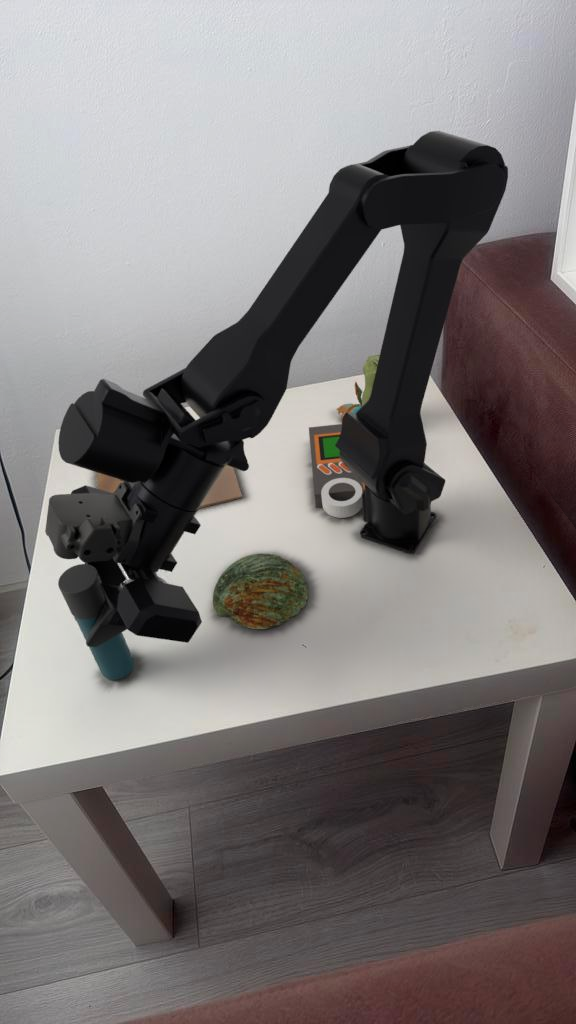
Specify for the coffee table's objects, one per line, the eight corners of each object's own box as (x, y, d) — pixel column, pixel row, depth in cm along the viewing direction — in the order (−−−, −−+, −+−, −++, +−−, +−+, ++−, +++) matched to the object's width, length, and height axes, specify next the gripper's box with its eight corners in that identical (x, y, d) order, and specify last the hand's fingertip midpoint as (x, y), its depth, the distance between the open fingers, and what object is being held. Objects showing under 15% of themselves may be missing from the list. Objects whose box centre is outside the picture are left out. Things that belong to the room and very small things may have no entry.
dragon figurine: (397, 438, 91) (388, 384, 94) (343, 432, 89) (335, 377, 92) (375, 463, 97) (367, 412, 100) (323, 458, 94) (317, 406, 98)
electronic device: (315, 507, 82) (308, 423, 92) (317, 525, 84) (310, 441, 94) (376, 501, 81) (361, 417, 92) (376, 519, 83) (362, 435, 94)
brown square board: (219, 420, 101) (218, 418, 100) (242, 497, 88) (241, 494, 88) (95, 449, 99) (94, 446, 99) (101, 532, 86) (100, 529, 86)
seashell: (318, 577, 71) (222, 617, 69) (323, 607, 74) (231, 646, 72) (280, 522, 79) (192, 556, 77) (286, 551, 81) (201, 584, 79)
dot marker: (143, 662, 71) (105, 571, 63) (120, 689, 69) (78, 598, 61) (117, 649, 73) (77, 558, 64) (94, 675, 71) (49, 585, 62)
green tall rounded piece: (366, 438, 94) (363, 370, 87) (359, 415, 98) (355, 348, 91) (409, 432, 94) (409, 363, 87) (401, 408, 98) (400, 341, 91)
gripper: (52, 411, 63) (-24, 555, 67) (126, 534, 51) (27, 702, 55) (158, 449, 71) (83, 576, 75) (245, 564, 58) (150, 709, 62)
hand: (84, 632), depth 66 cm, fingers closed on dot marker, 3 cm apart
